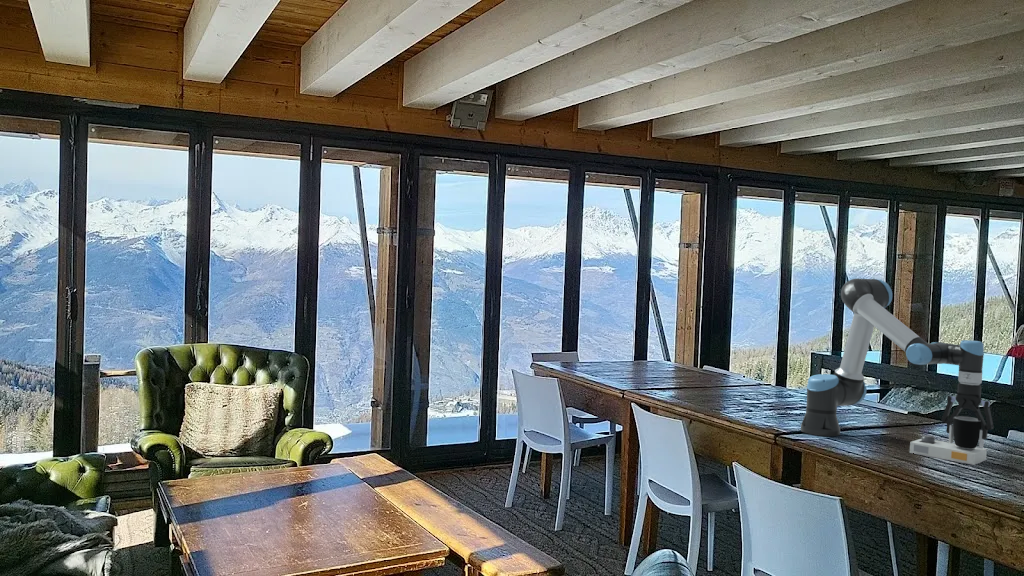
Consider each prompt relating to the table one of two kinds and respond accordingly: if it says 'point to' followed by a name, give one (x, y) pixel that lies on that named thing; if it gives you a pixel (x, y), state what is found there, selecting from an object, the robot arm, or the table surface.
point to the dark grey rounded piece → (928, 439)
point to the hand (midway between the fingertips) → (965, 445)
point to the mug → (966, 431)
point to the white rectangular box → (948, 451)
